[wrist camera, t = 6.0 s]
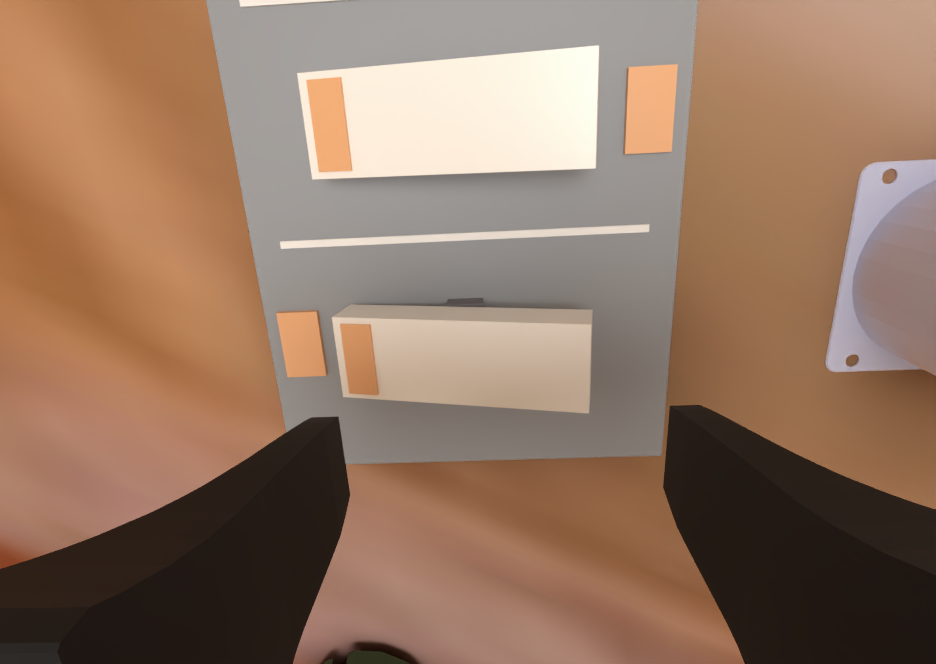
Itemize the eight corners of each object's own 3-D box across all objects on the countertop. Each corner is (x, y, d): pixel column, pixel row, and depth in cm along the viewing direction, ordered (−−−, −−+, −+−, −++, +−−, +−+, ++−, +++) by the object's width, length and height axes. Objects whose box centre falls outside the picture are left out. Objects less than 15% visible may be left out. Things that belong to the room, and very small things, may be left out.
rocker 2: (592, 309, 16) (591, 325, 15) (590, 392, 17) (588, 415, 16) (350, 304, 18) (330, 318, 17) (360, 379, 19) (341, 398, 18)
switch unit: (694, -369, 14) (749, -503, 11) (643, 422, 22) (667, 466, 19) (186, -322, 15) (111, -437, 12) (312, 432, 23) (286, 476, 20)
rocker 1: (599, 53, 14) (598, 44, 13) (596, 165, 15) (595, 169, 14) (321, 78, 16) (294, 72, 15) (334, 176, 17) (310, 180, 16)
